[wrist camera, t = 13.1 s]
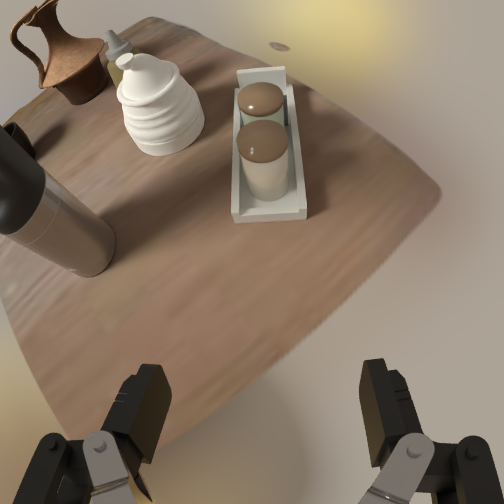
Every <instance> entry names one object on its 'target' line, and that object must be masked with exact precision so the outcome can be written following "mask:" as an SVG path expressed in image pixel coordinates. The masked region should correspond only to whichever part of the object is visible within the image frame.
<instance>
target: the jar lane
mask: <svg viewBox="0 0 504 504" xmlns="http://www.w3.org/2000/svg"><path fill="white" fill-rule="evenodd" d="M237 77H238V82H239V86H240V88H235V96H234V123H233V153H232V191H231V214H232V217H233V219H234V222H235V224H236V223H252V222H269V221H287V220H306V217H307V202H306V192H305V182H304V173H303V164H302V155H301V147H300V139H299V131H298V123H297V116H296V109H295V102H294V95H293V88H292V84H286V74H285V66H280V67H266V68H254V69H244V70H237ZM257 82H268V83H272V84H275V85H277V86H278V87H279V88H280V89H281V90H282V92H283V95H287V106H288V124H289V126H285V130H286V132H287V134H288V147H287V150H288V175H289V187H288V190H287V192H286V193H285V195H284V196H283V197H281V198H280V199H278V200H275V201H270V202H265V201H261V200H258V199H256V198H255V197H254V196H253V195H252V194H251V193H250V191H249V188H248V184H247V180H246V176H245V172H244V168H243V163H242V159H241V155H240V153H239V151H238V147H237V143H236V137H237V134H238V132H239V131H240V129H241V128H242V127H243V124H242V120H241V116H240V111H239V107H238V101H237V96H238V93H239V92H240V91H241V90H242V89H243V88H244V87H246V86H247V85H250V84H252V83H257Z"/></svg>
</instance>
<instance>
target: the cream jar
mask: <svg viewBox="0 0 504 504" xmlns="http://www.w3.org/2000/svg"><path fill="white" fill-rule="evenodd" d="M236 143H237V147H238V151H239V153H240V155H241V159H242V163H243V168H244V172H245V176H246V180H247V184H248V188H249V191H250V193H251V194H252V195H253V196H254V197H255V198H256V199H258V200H261V201H265V202H270V201H275V200H278V199H280V198H281V197H283V196H284V195H285V193H286V192H287V190H288V187H289V175H288V150H287V147H288V134H287V132H286V130H285V128H284V127H283V126H282V125H281V124H279V123H277V122H275V121H272V120H256V121H252V122H250V123H248V124H246V125H245V126H243V127H242V128H241V129H240V131H239V132H238V134H237V137H236Z"/></svg>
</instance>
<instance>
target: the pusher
mask: <svg viewBox="0 0 504 504" xmlns="http://www.w3.org/2000/svg"><path fill="white" fill-rule="evenodd" d="M283 100H284V102H283V111H284V126H289V124H288V106H287V95H283ZM238 107H239V105H238ZM239 111H240V108H239ZM240 116H241V120H242V115H241V111H240ZM242 124H243V120H242ZM243 126H244V124H243Z"/></svg>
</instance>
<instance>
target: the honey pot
mask: <svg viewBox="0 0 504 504" xmlns="http://www.w3.org/2000/svg"><path fill="white" fill-rule="evenodd" d="M115 63H116V65H117V66H118V67H119V68H120V69H122V70H124V73H123V80H122V81H121V82H120V84H119V86H118V89H117V97H118V100H119V102H121V103H122V109H123V112H124V123H125V126H126V128H127V131H128V132H129V134H130V135H131V137H132V139H133V140H134V142H135V143H136V145H137V146H138V147H139V148H140V149H141V150H142V151H143V152H144V153H146V154H149V155H153V156H166V155H170V154H173V153H177V152H179V151H181V150H183V149H184V148H186V147H188V146H189V145H190V144H191V143H192V142H194V141H195V140H196V138H197V137H198V136H199V135H200V133H201V131H202V129H203V127H204V120H205V118H204V114H203V110H202V107H201V104H200V101H199V98H198V96H197V93H196V91H195V90H194V89H193V87H192V86H190V85H189V84H188V83H187V82H186V81H185V79H184V78H183V77H182V76H181V75H180V72H179V68H178V67H177V66H176V64H174V63H172V62H170V61H165V60H160V59H158V58H156V57H154V56H152V55H149V54H144V53H140V54H136V55H134V56H133V54H132V53H126V54H123V55H122V56H120V57H119V58H118V59H117V60H116V62H115Z"/></svg>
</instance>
